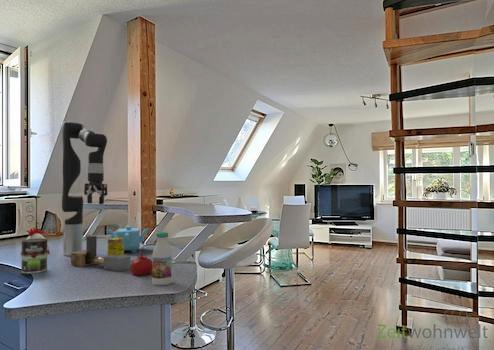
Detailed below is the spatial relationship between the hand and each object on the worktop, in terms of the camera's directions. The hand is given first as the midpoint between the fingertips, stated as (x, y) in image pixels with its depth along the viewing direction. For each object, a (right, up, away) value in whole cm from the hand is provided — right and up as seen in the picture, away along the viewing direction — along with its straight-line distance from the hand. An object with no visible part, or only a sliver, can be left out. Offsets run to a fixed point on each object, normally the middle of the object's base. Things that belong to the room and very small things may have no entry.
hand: (95, 203), depth 183 cm
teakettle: (+8, -31, +28) cm, 42 cm away
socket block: (-3, -29, -7) cm, 30 cm away
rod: (+7, -28, -12) cm, 31 cm away
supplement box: (+9, -30, +4) cm, 31 cm away
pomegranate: (+32, -29, -27) cm, 51 cm away
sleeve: (+17, -29, -17) cm, 38 cm away
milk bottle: (+44, -28, -42) cm, 67 cm away
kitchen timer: (-44, -31, +21) cm, 57 cm away
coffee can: (-19, -29, -20) cm, 41 cm away
